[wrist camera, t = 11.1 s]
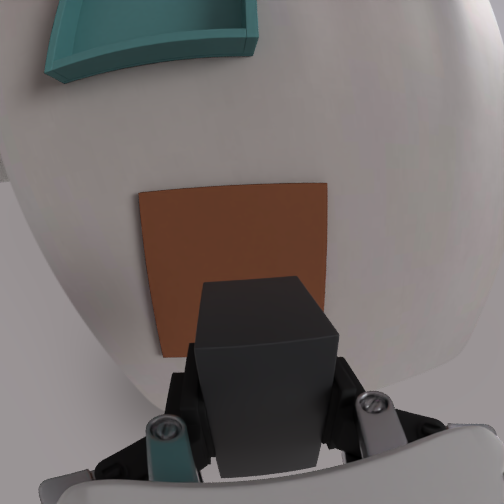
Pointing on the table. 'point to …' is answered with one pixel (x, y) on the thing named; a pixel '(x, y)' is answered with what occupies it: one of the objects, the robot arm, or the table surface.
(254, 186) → the mat
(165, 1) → the bin
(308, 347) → the charcoal grey block
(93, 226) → the table surface
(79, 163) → the table surface
